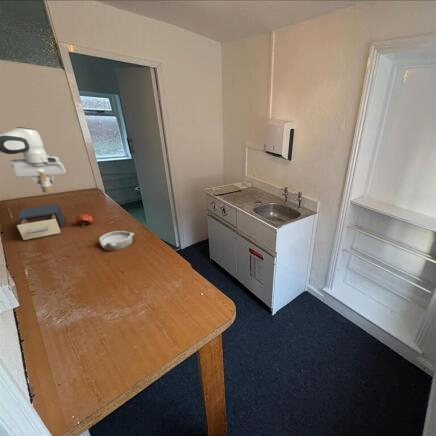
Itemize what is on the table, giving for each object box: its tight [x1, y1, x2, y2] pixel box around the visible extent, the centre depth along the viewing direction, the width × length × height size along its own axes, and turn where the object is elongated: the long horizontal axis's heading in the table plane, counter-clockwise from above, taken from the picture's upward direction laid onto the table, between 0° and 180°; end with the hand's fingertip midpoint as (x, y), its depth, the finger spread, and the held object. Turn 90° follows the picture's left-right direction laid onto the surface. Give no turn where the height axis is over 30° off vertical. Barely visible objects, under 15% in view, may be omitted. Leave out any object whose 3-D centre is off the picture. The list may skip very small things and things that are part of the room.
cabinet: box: [17, 203, 65, 229], centre depth 131 cm, size 16×15×10 cm
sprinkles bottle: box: [37, 169, 55, 194], centre depth 132 cm, size 5×5×13 cm
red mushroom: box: [75, 212, 94, 228], centre depth 134 cm, size 7×7×10 cm
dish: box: [98, 230, 135, 252], centre depth 117 cm, size 14×14×5 cm
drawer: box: [16, 214, 61, 241], centre depth 122 cm, size 19×14×8 cm
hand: (45, 183), depth 133 cm, fingers closed on sprinkles bottle, 4 cm apart
